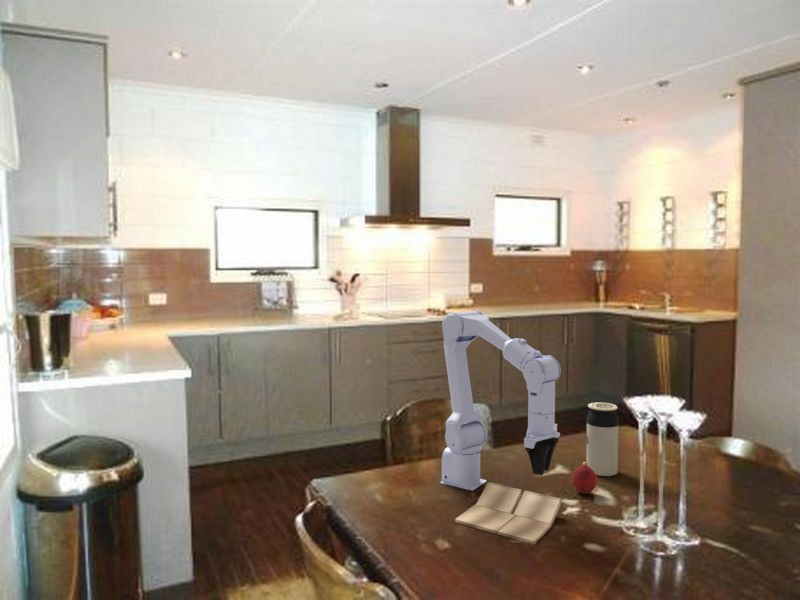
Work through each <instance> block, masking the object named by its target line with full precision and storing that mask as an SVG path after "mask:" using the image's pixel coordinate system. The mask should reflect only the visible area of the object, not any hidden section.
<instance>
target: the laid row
mask: <svg viewBox="0 0 800 600" xmlns="http://www.w3.org/2000/svg"><path fill="white" fill-rule="evenodd" d="M513 514H514V513H513ZM513 514H510V513H506V512H502V511H498V510H494V509H490V508H486V507H482V506H479V505H476V504H474V505H472V506H471V507H470V508H468V509H467V510H465V511H464V512H463V513H461V514H460V515H458V517H456V518H455V519H454V523H457V524H460V525H463V526H467V527H470V528H475V529H476V530H477V529H478V530H481V531H485V532H489V533H492V534H495V535H499V536H502V537H505V538H510V539H512V540H513V539H514V540H516V541H521V542H524V543H527V544H530V545H534V546H535V545H536V544H537V542H538V541H540V539H542V537H544V535H545V534H546V533H547V532H548V531H549V530H550V529H551V528H552V525H551V524H548V523H545V522H541V521H537V520H533V519H529V518H525V517H521V516H517V515H513Z"/></svg>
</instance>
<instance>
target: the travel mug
mask: <svg viewBox="0 0 800 600" xmlns="http://www.w3.org/2000/svg"><path fill="white" fill-rule="evenodd" d="M587 407H588V409H589V412H588V413H587V416H586V450H585V451H586V452H585V453H586V461H585V462H586V463H587V465H588V467H590V468H591V469H592V470H593V471H594V472H595V474H596V476H597V477H613V476H615V475H617V474H618V473H619V472H618V467H619V466H618V465H619V462H618V461H619V417H618V415H617V413H616V412H617V409H618V406H617V405H616V404H613V403H611V402H610V403H609V402H601V401H600V402H599V401H598V402H591V403H588V404H587Z"/></svg>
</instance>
